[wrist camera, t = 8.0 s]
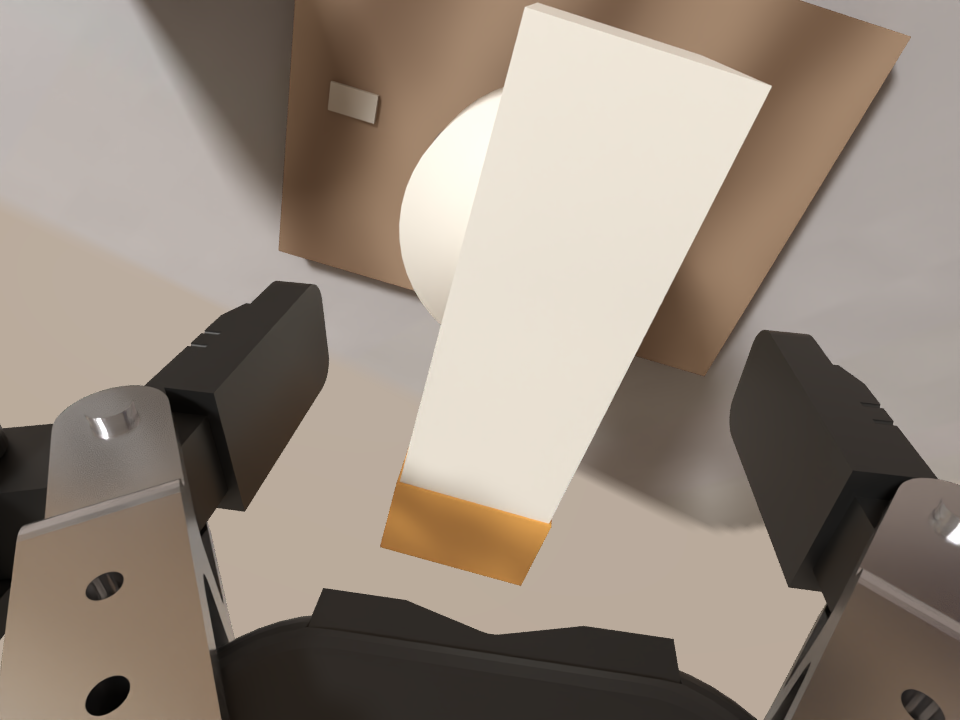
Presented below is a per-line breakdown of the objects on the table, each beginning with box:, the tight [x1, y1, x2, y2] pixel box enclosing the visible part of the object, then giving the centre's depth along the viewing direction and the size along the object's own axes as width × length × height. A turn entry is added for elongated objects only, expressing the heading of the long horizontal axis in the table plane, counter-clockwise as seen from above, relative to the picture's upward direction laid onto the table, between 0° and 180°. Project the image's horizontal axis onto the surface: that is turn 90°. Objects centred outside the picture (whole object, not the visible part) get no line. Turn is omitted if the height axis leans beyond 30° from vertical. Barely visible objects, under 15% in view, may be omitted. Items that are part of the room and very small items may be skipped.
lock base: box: [279, 0, 911, 376], centre depth 20 cm, size 20×14×8 cm
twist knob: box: [380, 3, 772, 586], centre depth 13 cm, size 10×7×9 cm
